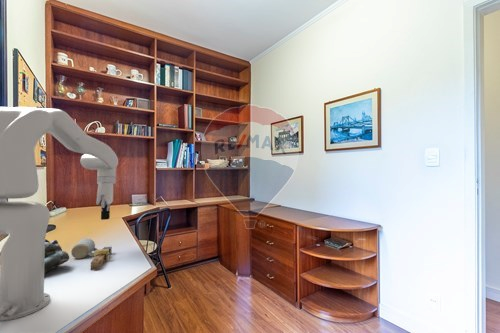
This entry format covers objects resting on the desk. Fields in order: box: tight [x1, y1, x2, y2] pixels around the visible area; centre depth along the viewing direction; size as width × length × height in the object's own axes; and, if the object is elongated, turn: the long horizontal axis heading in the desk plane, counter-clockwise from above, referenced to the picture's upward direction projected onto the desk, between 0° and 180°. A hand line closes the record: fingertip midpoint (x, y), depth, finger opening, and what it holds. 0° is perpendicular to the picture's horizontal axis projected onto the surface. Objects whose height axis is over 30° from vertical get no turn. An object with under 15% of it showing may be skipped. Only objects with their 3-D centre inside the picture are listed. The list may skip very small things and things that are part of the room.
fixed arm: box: [90, 254, 102, 271], centre depth 105 cm, size 18×2×3 cm, turn 19°
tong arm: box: [94, 254, 107, 271], centre depth 103 cm, size 16×1×3 cm, turn 18°
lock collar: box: [93, 248, 110, 262], centre depth 105 cm, size 2×5×5 cm, turn 109°
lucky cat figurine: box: [44, 238, 70, 274], centre depth 94 cm, size 15×12×14 cm
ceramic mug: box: [71, 237, 99, 260], centre depth 111 cm, size 11×8×8 cm
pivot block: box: [102, 246, 113, 256], centre depth 114 cm, size 3×3×3 cm
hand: (105, 219), depth 110 cm, fingers closed
